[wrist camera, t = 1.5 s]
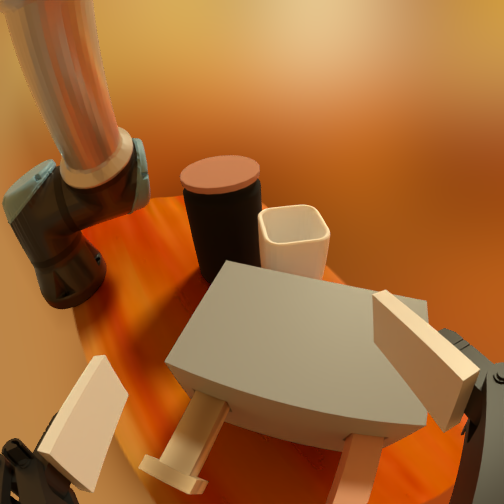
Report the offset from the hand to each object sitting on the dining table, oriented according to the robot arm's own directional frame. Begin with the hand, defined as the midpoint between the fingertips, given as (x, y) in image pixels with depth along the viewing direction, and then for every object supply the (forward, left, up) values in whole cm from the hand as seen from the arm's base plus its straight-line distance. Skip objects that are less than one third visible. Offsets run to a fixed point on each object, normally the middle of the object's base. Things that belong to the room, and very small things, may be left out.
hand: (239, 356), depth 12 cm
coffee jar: (-13, +25, -21) cm, 35 cm away
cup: (-2, +20, -21) cm, 29 cm away
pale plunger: (-4, -2, -15) cm, 16 cm away
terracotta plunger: (+10, -2, -16) cm, 18 cm away
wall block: (+3, +7, -21) cm, 22 cm away
